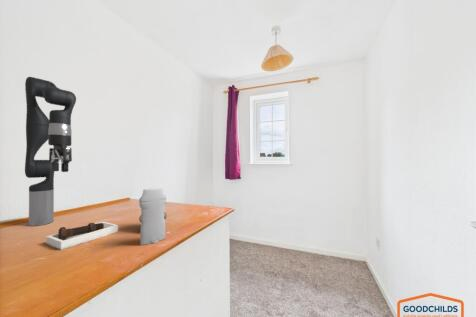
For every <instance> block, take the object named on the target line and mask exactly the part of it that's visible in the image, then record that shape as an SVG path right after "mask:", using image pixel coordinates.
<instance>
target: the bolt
mask: <svg viewBox="0 0 476 317" xmlns="http://www.w3.org/2000/svg"><path fill="white" fill-rule="evenodd" d="M95 223H96V222H89V223H88V224H87V225H83V226H78V227H73V228H66V227H65V226H63V227H61V226H60V228H59V229H58V237H59V239H61V240H66V238H68V237H72V236H76V235H81V234H85V233H90V232H94V231H97V230H101V229H104V224H103V223H99V222H97V223H98V224H95Z"/></svg>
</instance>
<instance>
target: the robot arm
mask: <svg viewBox="0 0 476 317" xmlns="http://www.w3.org/2000/svg"><path fill="white" fill-rule="evenodd" d="M24 84H25V85H24V86H25V88H24V90H25V101H26V120H25V135H26V136H25V140H26V141H25V143H26V146H25V148H26V151H25V164H24V174H25V177H26V178H28V179H31V178H32V179H33V178H35V179H36V178H45V179H44V180H42V181H40V182H37V183H35V184H31V185H30V186H29V187H28V226H29V227H30V226H31V227H35V226H43V225H48V224H51V223H53V222H54V214H55V213H54V211H55V210H54V209H55V207H54V204H55V197H54V194H55V193H54V192H55V190H54V189H55V188H54V186H55V185H54V182H55V181H54V178H55V172H59V171H61V173H68V172H69V164H70V163H71V162H72V160H73V157H72V147H70V146H72V125H71V124H72V120H71V119H72V115H73V114H72V113H73V109H74V106H75V105H76V102H77V96H76V94H75V93H73V91H70V90H67V89H66V90H65V89H61V88H59V87H58V86H56V84H55V83H54V82H53V81H49V80H45V79H43V78H39V77H37V78H36V77H34V76H28V77H26V79H25V82H24ZM36 97H38V98H43V99H44V101H45V102H46V103H47V104H50V105H54V106H55V105H56V106H60V107H63V109H51V110H50V111H49V113H48V115H49V116H47V114H45V112H44V111H43V110H42V108H41V107H40V106H39V103H38V102H37V98H36ZM46 142H48V144H47V145H49V146H52V147H49V150H48V152H49V154H48V155H49V156H48V159H35V157H36V155H37V153H38V151H39V150H40V149H41V148H42V147H43V145H45V144H46ZM60 164H61V165H60ZM60 166H61V167H60ZM60 168H61V169H60Z"/></svg>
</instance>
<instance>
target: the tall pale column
mask: <svg viewBox="0 0 476 317" xmlns="http://www.w3.org/2000/svg"><path fill="white" fill-rule="evenodd" d="M139 200H140V202H139V207H140V211H141V212H140V213H141V214H140V216H141V215H142V223H141V224H140V244H139V245H140V246H148V245H151V244H156V243H158V242H161V241H163V240H165V239H166V219H165V220H164V216H165V214H164V213H166V212H165V209H166V203H167V194H165V192H164V188H163V187H157V186H155V187H154V186H153V187H148V188H146V189H145V188H144V189H143V190H142V195H141V196H140V198H139Z"/></svg>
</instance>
